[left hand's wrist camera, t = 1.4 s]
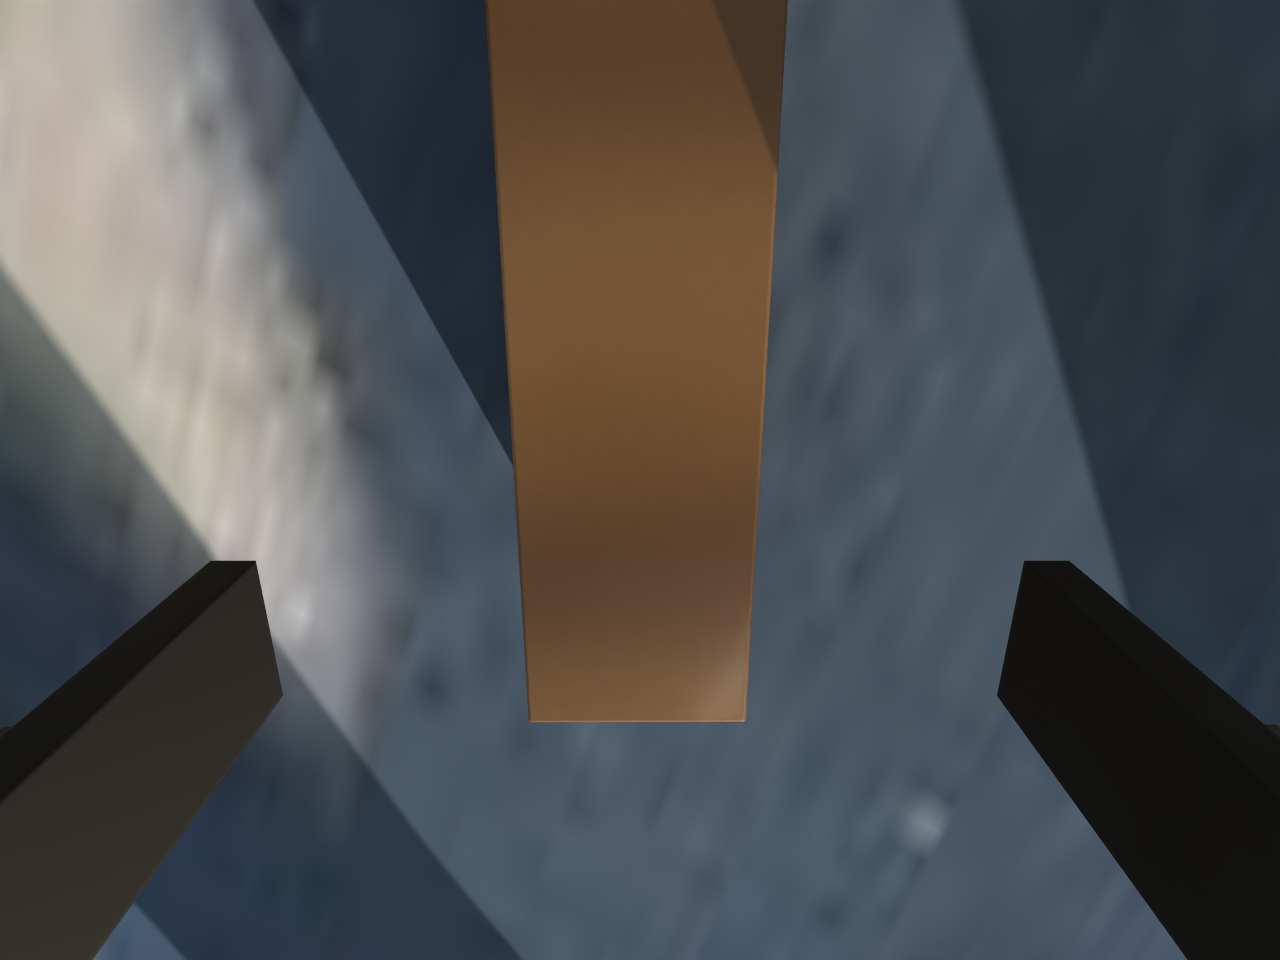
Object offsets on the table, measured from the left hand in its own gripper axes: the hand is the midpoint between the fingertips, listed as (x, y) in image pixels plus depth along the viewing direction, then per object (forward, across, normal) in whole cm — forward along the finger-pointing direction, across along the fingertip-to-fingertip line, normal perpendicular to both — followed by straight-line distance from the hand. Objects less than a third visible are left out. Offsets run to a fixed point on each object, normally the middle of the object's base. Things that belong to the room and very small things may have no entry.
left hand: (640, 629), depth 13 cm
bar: (+10, 0, -10) cm, 14 cm away
